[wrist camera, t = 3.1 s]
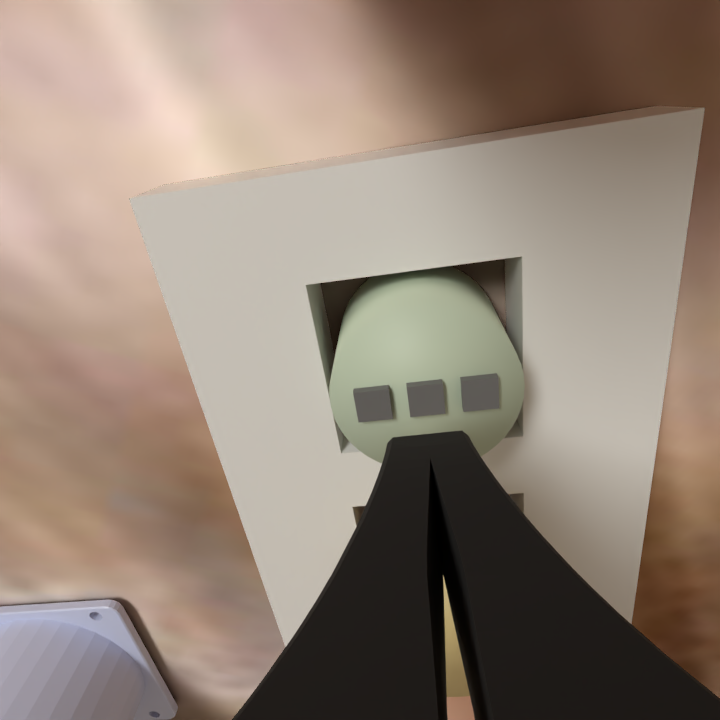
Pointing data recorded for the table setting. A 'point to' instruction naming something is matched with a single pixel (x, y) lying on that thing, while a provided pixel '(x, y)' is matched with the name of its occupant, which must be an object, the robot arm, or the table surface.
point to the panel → (424, 251)
